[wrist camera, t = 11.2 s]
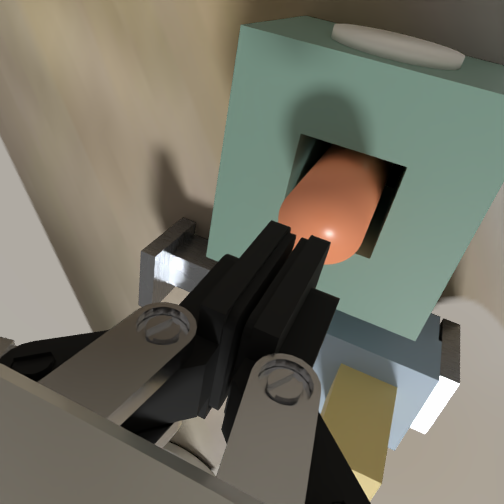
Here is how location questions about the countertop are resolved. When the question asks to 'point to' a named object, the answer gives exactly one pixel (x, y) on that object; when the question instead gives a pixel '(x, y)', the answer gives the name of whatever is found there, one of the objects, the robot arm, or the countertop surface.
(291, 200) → the orange peg
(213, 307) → the robot arm
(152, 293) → the rail
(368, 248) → the green box
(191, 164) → the countertop surface
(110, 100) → the countertop surface
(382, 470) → the carriage
